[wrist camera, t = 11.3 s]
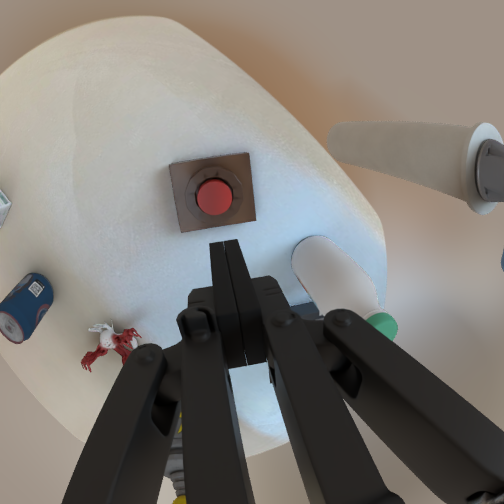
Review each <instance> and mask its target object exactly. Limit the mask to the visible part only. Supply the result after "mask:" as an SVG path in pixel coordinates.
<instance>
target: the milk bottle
mask: <svg viewBox="0 0 504 504" xmlns="http://www.w3.org/2000/svg"><path fill="white" fill-rule="evenodd" d="M291 265H292V269H293V271H294V273H295V275H296V276H297V278H298V280H299V281H300V283H301V284H302V286H303V287H304V289H305V290H306V292H307V293H308V295H309V296H310V298H311V299H312V301H313V302H314V304H315V305H316V307H317V308H318V309H319V311H320V312H321V314H322V315H323V316H325V315H326V313H328V312H329V311H331V310H334V309H348V310H351V311H353V312H355V313H357V314H358V315H359V316H361V317H362V318H363V319H364V320H366V321H367V322H368V323H370V324H371V325H372V326H373V327H375V328H376V329H377V330H379V331H380V332H381V333H382V334H384V335H385V336H386V337H388V338H389V339H390V340H391V341H393V339H394V338H395V336H396V334H397V330H398V326H397V323H396V321H395V320H394V319H393V317H392V316H390V315H389V314H388V312H387V311H385V310H384V309H381V307H380V304H379V301H378V297H377V292H376V288H375V286H374V283H373V282H372V280H371V278H370V277H369V275H368V274H367V273H366V272H365V271H364V270H363V269H362V268H361V267H360V266H359V265H358V264H357V263H356V262H355V261H354V260H353V259H352V258H351V257H350V256H348V255H347V254H346V253H345V252H344V251H343V250H342V249H341V248H339V247H338V246H337V245H336V244H335V243H334V242H332V241H331V240H330V239H328V238H327V237H324V236H311V237H308V238H306V239H304V240H303V241H301V242H300V243H299V244H298V245H297V246H296V248H295V250H294V252H293V254H292V259H291Z"/></svg>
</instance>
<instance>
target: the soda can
mask: <svg viewBox="0 0 504 504" xmlns="http://www.w3.org/2000/svg"><path fill="white" fill-rule="evenodd" d="M52 303H53V289H52V286H51V284H50V282H49V281H48V279H47V278H46V277H44V276H43V275H41V274H38V273H30V274H27V275H26V276H25V277H24V278H23V279H22V280H21V281H20V282H19V283H18V284H17V285H16V287H15V288H14V289H13V290H12V291H11V292H10V293H9V294H8V295H7V296H6V298H5V299H4V300H3V301H2V302H1V303H0V332H1V333H2V334H3V335H4V336H5V337H6V338H7V339H8V340H9V341H11V342H13V343H15V344H21V343H22V342H23V341H25V340H27V339H29V338H30V336H31V335H32V333H33V332H34V330H35V328H36V327H37V325H38V324H39V322H40V321H41V319H42V318H43V316H44V315H45V313H46V312H47V310H48V309H49V308H50V306H51V305H52Z"/></svg>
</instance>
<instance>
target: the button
mask: <svg viewBox="0 0 504 504" xmlns="http://www.w3.org/2000/svg"><path fill="white" fill-rule="evenodd" d="M197 202H198V205H199V207H200V208H201V210H202V211H204V212H205V213H207V214H210V215H219V214H222V213H224V212H225V211H226V210H227V209H228V208H229V207H230V205H231V202H232V194H231V191H230V189H229V187H228V186H227V184H226V183H224V182H223V181H221V180H217V179H211V180H208V181H206V182H204V183H203V184H202V185H201V186H200V188H199V190H198V195H197Z"/></svg>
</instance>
